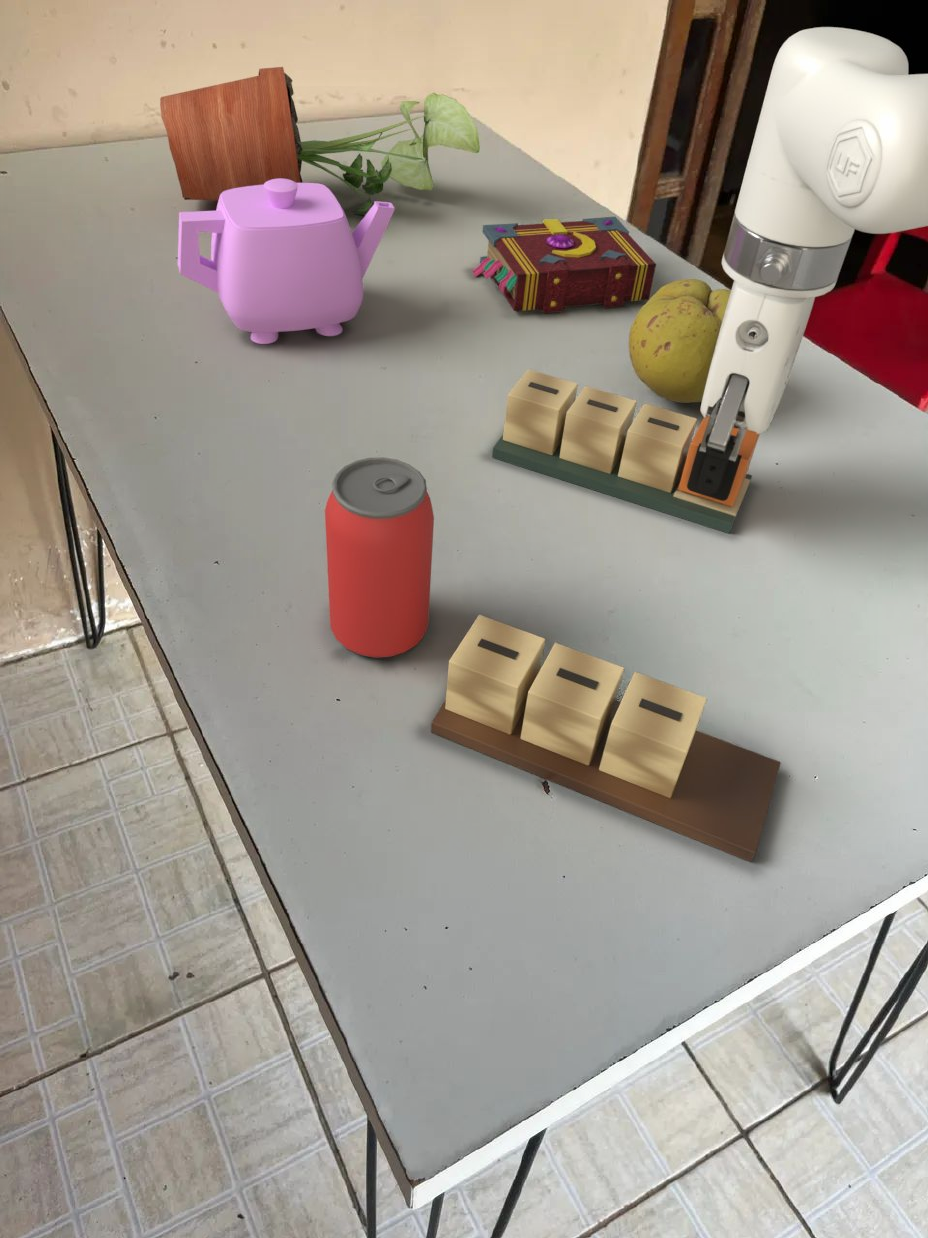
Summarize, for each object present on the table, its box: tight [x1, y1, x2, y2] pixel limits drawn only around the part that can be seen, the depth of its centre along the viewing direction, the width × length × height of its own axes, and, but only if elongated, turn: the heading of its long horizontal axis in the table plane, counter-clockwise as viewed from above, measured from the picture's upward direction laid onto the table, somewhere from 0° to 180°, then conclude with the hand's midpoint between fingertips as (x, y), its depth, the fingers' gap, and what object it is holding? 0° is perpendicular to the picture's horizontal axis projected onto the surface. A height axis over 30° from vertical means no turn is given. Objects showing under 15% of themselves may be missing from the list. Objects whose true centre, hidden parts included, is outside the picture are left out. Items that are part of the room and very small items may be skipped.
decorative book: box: [471, 216, 657, 314], centre depth 101 cm, size 11×16×5 cm
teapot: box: [177, 178, 395, 345], centre depth 90 cm, size 20×12×13 cm, turn 110°
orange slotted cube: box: [678, 416, 761, 506], centre depth 76 cm, size 4×4×4 cm
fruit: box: [628, 278, 755, 404], centre depth 85 cm, size 11×12×10 cm
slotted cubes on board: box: [430, 614, 782, 862], centre depth 58 cm, size 20×7×6 cm, turn 65°
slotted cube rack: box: [491, 369, 753, 534], centre depth 78 cm, size 20×7×6 cm, turn 65°
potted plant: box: [159, 66, 481, 216], centre depth 109 cm, size 16×15×35 cm
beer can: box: [324, 456, 435, 659], centre depth 62 cm, size 7×7×12 cm
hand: (715, 473), depth 76 cm, fingers closed on orange slotted cube, 4 cm apart
